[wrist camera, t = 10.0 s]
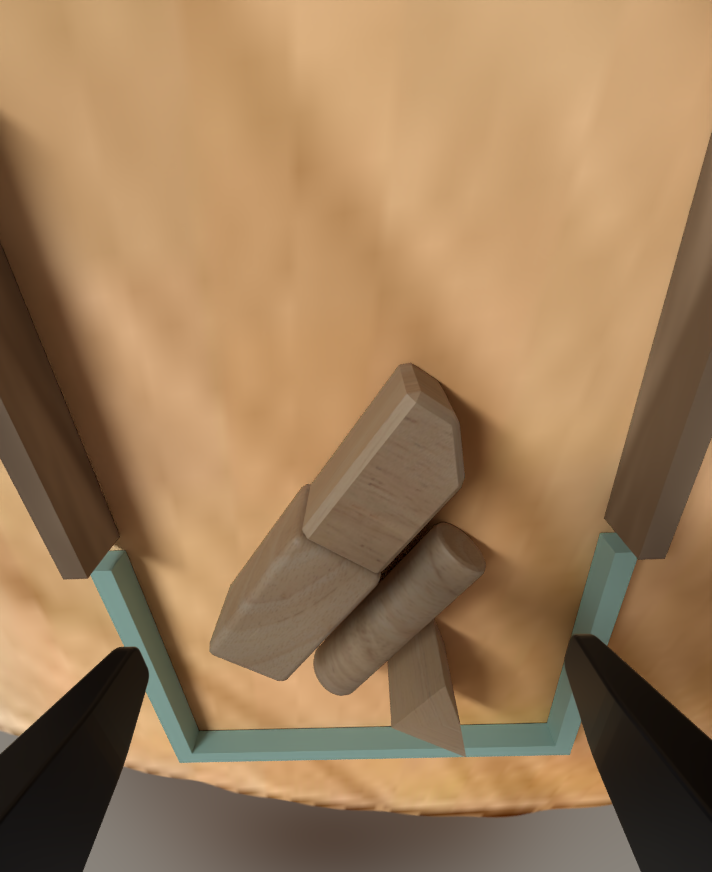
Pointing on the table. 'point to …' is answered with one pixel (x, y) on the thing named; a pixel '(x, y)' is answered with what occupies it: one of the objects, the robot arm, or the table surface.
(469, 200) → the table surface
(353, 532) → the wooden block set
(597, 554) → the frame
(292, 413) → the table surface
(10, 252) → the table surface
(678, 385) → the pair of brown bars
